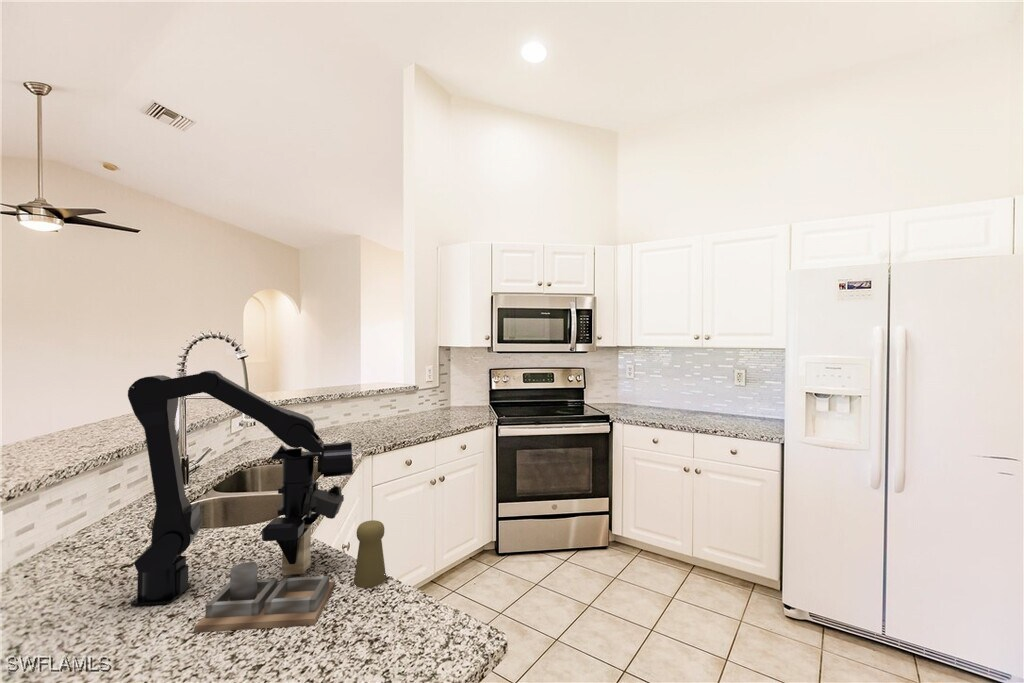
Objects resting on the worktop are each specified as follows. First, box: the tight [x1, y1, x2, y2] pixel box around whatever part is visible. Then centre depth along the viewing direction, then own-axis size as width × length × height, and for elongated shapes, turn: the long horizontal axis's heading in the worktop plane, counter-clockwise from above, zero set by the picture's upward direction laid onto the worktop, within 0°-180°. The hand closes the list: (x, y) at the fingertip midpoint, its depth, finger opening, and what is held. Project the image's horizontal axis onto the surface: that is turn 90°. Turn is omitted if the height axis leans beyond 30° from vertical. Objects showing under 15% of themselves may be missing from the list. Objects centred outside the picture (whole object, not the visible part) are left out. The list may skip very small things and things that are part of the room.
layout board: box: [194, 561, 336, 633], centre depth 78 cm, size 18×12×7 cm, turn 97°
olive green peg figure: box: [353, 520, 387, 589], centre depth 88 cm, size 6×6×11 cm
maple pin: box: [281, 525, 312, 576], centre depth 90 cm, size 4×4×8 cm
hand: (296, 558), depth 90 cm, fingers closed on maple pin, 4 cm apart
